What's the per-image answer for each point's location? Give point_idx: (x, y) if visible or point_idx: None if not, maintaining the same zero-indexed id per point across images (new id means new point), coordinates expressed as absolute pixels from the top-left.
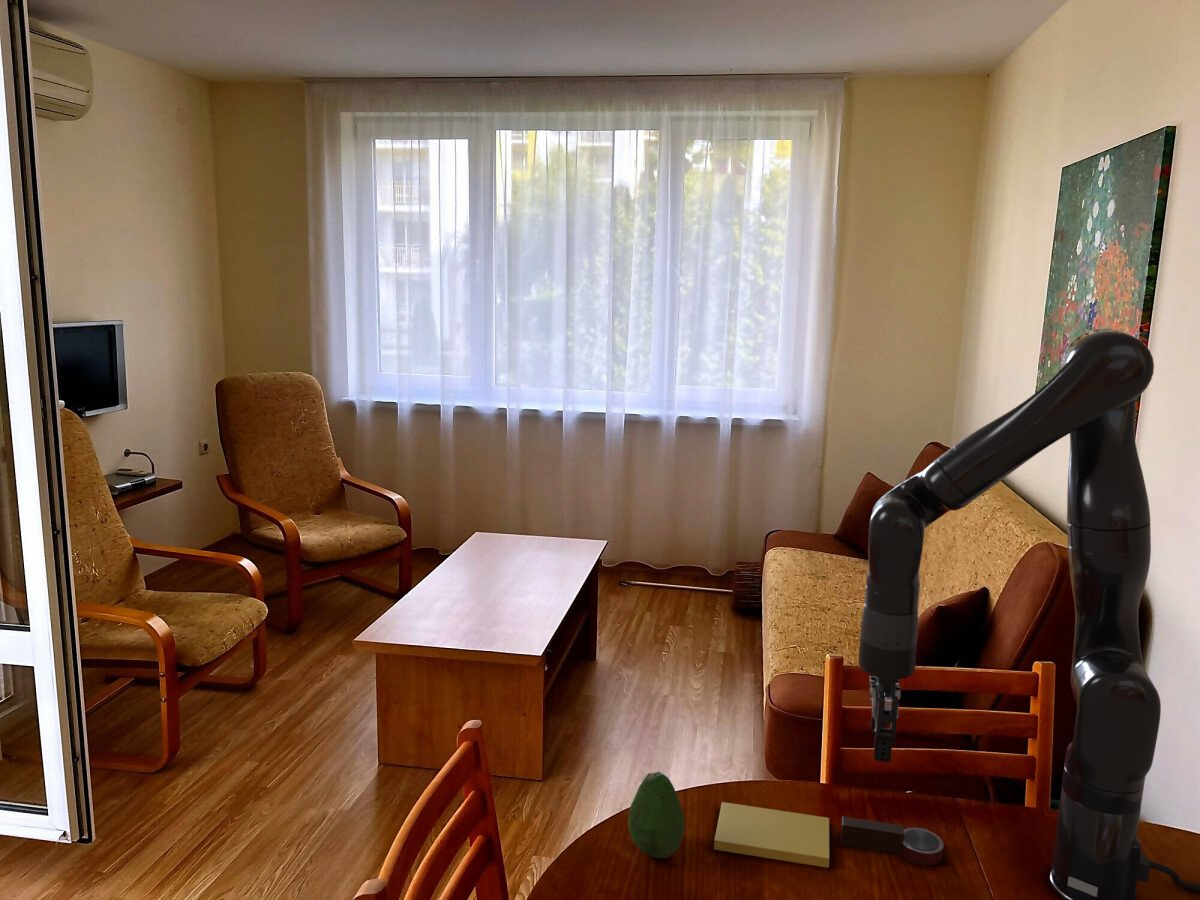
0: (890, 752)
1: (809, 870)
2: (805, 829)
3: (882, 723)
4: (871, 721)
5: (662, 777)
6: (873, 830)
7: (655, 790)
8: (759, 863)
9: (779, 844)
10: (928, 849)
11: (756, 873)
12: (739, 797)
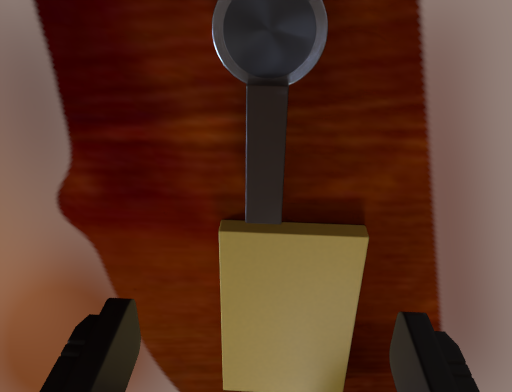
0: (441, 350)
1: (376, 256)
2: (275, 273)
3: (122, 345)
4: (126, 384)
5: None
6: (284, 159)
7: None
8: (366, 326)
9: (336, 314)
10: (313, 17)
11: None
12: (172, 353)
